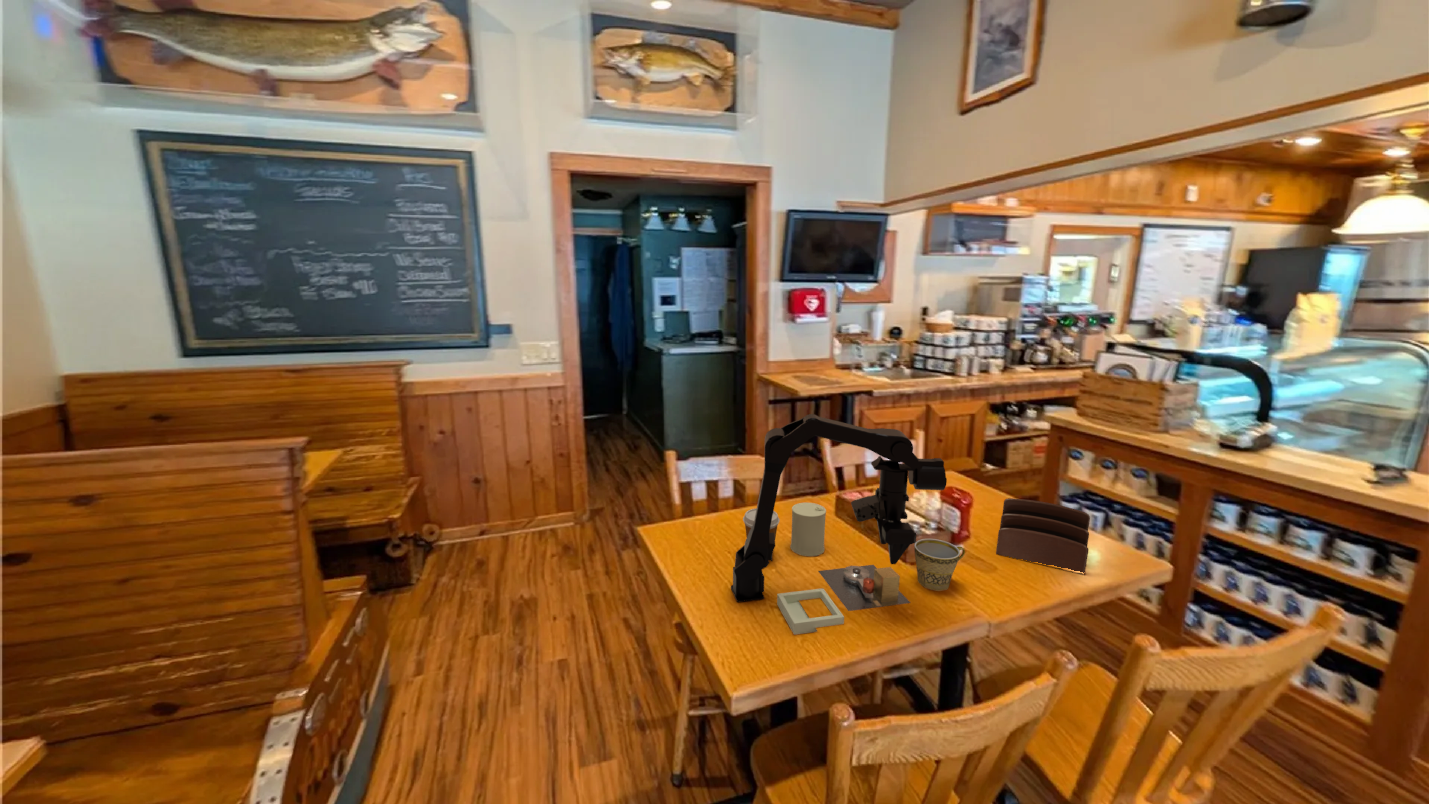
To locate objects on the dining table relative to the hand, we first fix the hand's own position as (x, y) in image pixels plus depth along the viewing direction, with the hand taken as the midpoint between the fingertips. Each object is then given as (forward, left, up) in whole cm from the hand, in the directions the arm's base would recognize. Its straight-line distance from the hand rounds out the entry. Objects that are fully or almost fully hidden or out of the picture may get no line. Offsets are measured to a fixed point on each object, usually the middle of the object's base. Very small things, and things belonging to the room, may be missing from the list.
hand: (888, 553), depth 119 cm
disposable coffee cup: (-22, +25, -12) cm, 35 cm away
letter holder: (+51, +10, -12) cm, 53 cm away
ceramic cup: (+16, +3, -12) cm, 20 cm away
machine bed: (-3, +5, -12) cm, 13 cm away
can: (-8, +27, -12) cm, 31 cm away
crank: (-4, +5, -10) cm, 12 cm away
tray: (-19, -2, -12) cm, 22 cm away
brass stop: (0, 0, -11) cm, 11 cm away
